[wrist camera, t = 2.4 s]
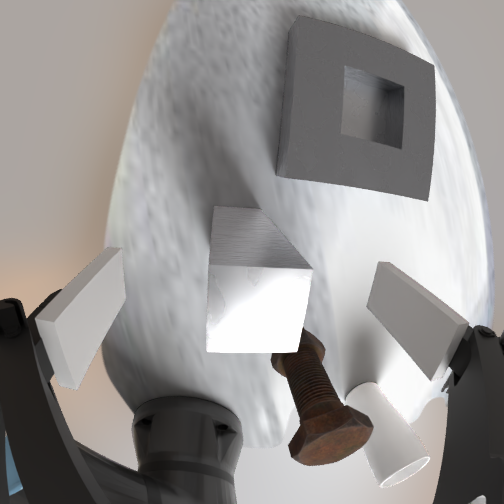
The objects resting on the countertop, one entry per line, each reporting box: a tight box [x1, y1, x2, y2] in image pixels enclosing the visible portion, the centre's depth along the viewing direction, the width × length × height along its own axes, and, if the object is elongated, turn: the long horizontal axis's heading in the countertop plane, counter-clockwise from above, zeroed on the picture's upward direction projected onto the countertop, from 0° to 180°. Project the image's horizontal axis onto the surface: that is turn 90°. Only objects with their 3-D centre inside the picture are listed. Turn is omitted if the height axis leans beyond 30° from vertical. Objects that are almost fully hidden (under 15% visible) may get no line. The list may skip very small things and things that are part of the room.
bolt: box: [271, 326, 374, 466], centre depth 21 cm, size 6×5×15 cm
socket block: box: [276, 15, 436, 201], centre depth 20 cm, size 14×14×4 cm
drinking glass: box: [345, 382, 430, 488], centre depth 26 cm, size 7×7×15 cm
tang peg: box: [207, 206, 313, 353], centre depth 18 cm, size 4×4×14 cm
